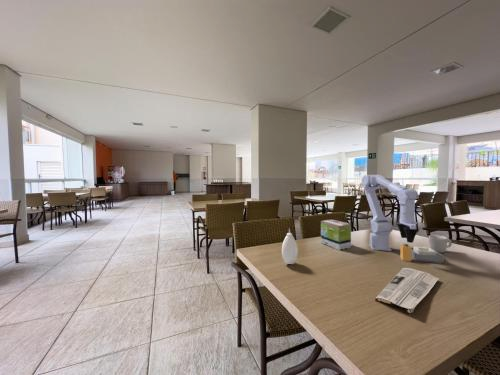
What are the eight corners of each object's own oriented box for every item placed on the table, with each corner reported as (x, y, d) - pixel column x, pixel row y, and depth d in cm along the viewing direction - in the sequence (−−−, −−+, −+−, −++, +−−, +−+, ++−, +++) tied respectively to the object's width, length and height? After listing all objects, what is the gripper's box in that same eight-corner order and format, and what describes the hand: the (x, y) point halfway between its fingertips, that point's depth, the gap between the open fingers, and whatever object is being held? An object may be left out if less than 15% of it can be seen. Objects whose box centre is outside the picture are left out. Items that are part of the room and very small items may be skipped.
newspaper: (402, 271, 93) (402, 263, 93) (439, 281, 84) (439, 272, 84) (373, 303, 70) (373, 293, 70) (420, 322, 61) (420, 310, 61)
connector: (402, 260, 104) (403, 245, 103) (400, 257, 107) (400, 243, 107) (411, 261, 103) (411, 245, 102) (408, 258, 106) (408, 243, 105)
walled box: (416, 261, 103) (416, 252, 102) (407, 253, 113) (407, 245, 113) (443, 263, 99) (444, 254, 99) (432, 255, 109) (432, 246, 109)
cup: (445, 248, 118) (445, 234, 118) (457, 254, 110) (457, 239, 110) (424, 248, 119) (424, 234, 119) (435, 253, 111) (435, 239, 111)
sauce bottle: (298, 268, 98) (297, 230, 97) (281, 267, 100) (280, 230, 99) (297, 261, 106) (297, 226, 105) (282, 260, 107) (281, 226, 106)
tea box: (320, 243, 133) (320, 220, 132) (331, 241, 137) (331, 218, 137) (339, 250, 119) (339, 225, 119) (351, 247, 124) (351, 223, 123)
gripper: (423, 216, 96) (423, 245, 96) (410, 211, 109) (410, 236, 110) (405, 215, 98) (405, 244, 99) (395, 210, 112) (394, 235, 112)
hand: (406, 240), depth 104 cm, fingers open, 7 cm apart
